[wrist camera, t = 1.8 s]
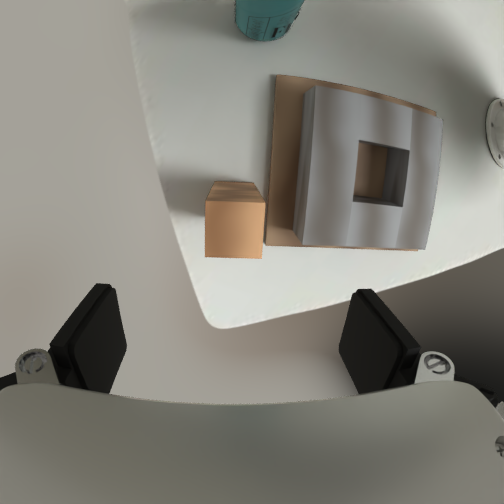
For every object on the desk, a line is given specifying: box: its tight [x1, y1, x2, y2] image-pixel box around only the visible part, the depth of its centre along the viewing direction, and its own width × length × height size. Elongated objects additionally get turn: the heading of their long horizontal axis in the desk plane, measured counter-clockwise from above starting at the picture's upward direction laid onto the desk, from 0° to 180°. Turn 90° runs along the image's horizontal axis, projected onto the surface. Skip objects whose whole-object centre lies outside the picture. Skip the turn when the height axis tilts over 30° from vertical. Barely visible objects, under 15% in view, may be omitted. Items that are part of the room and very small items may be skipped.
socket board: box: [265, 74, 443, 251], centre depth 29 cm, size 22×20×6 cm
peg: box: [205, 181, 266, 259], centre depth 27 cm, size 4×4×12 cm
